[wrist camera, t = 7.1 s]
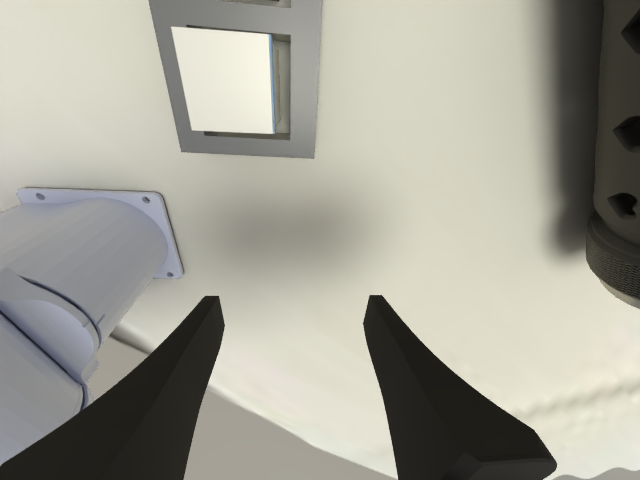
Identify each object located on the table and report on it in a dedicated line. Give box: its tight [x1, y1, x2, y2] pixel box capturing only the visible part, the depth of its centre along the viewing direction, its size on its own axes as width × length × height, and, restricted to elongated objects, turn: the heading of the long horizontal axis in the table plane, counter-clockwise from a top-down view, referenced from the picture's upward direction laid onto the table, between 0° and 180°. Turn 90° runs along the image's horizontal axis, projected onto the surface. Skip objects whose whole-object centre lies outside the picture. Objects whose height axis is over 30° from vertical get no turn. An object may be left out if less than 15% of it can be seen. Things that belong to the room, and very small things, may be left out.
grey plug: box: [171, 27, 281, 134], centre depth 13 cm, size 4×4×6 cm
